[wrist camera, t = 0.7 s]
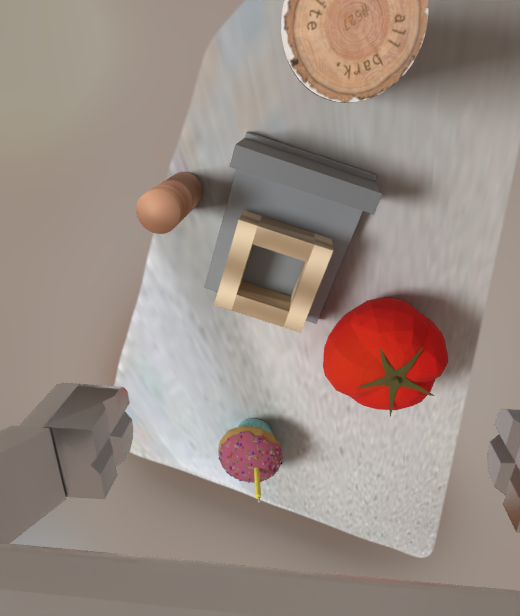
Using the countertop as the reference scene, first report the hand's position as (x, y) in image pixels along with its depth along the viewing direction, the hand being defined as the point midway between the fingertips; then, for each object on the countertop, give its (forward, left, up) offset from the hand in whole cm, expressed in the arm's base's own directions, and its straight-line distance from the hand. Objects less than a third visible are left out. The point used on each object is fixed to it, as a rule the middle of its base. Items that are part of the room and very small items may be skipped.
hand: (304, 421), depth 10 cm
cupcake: (+38, +5, -42) cm, 57 cm away
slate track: (+9, 0, -42) cm, 43 cm away
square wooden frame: (+12, 0, -40) cm, 42 cm away
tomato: (+17, +14, -43) cm, 48 cm away
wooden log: (-9, -1, -42) cm, 44 cm away
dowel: (+8, -12, -42) cm, 45 cm away
